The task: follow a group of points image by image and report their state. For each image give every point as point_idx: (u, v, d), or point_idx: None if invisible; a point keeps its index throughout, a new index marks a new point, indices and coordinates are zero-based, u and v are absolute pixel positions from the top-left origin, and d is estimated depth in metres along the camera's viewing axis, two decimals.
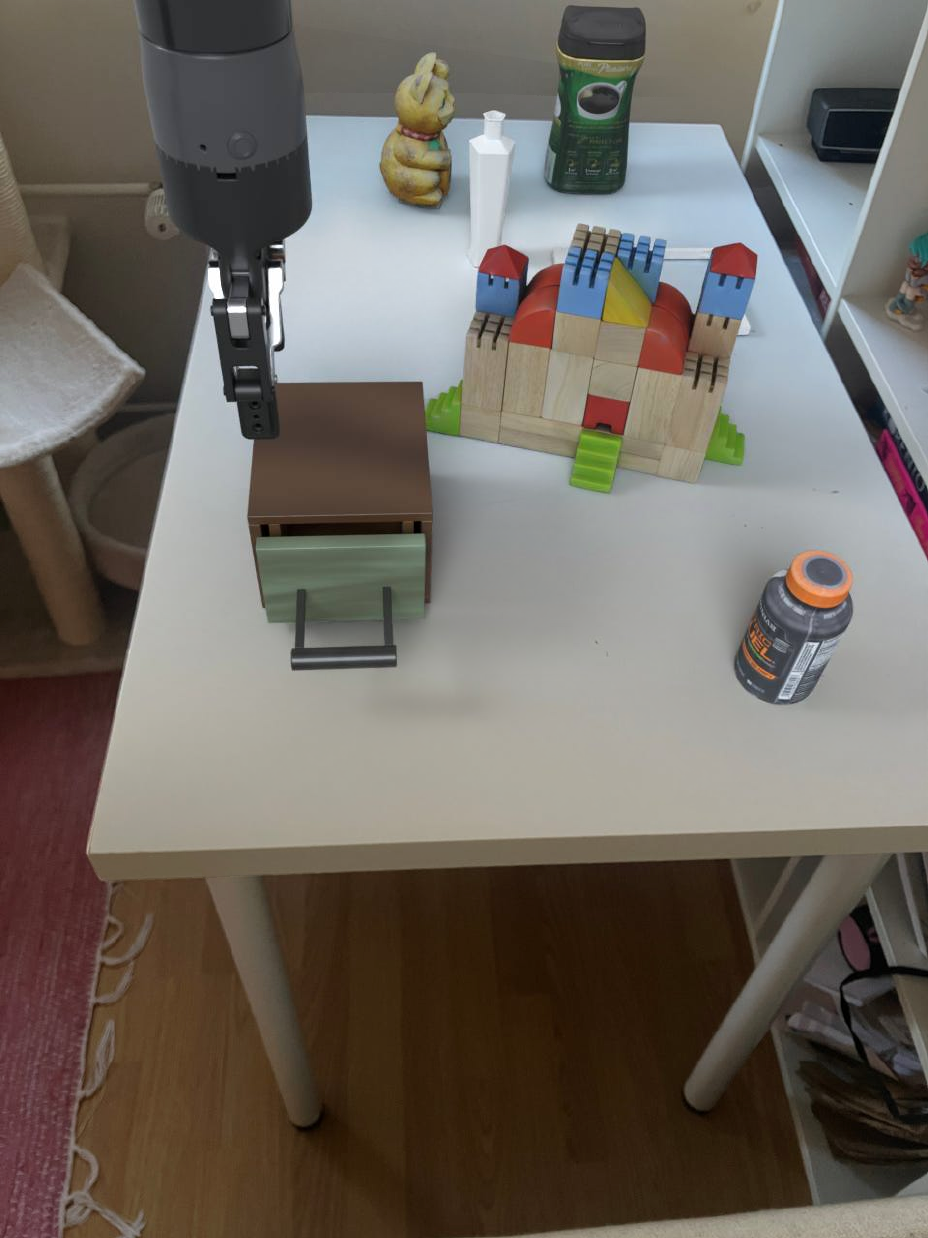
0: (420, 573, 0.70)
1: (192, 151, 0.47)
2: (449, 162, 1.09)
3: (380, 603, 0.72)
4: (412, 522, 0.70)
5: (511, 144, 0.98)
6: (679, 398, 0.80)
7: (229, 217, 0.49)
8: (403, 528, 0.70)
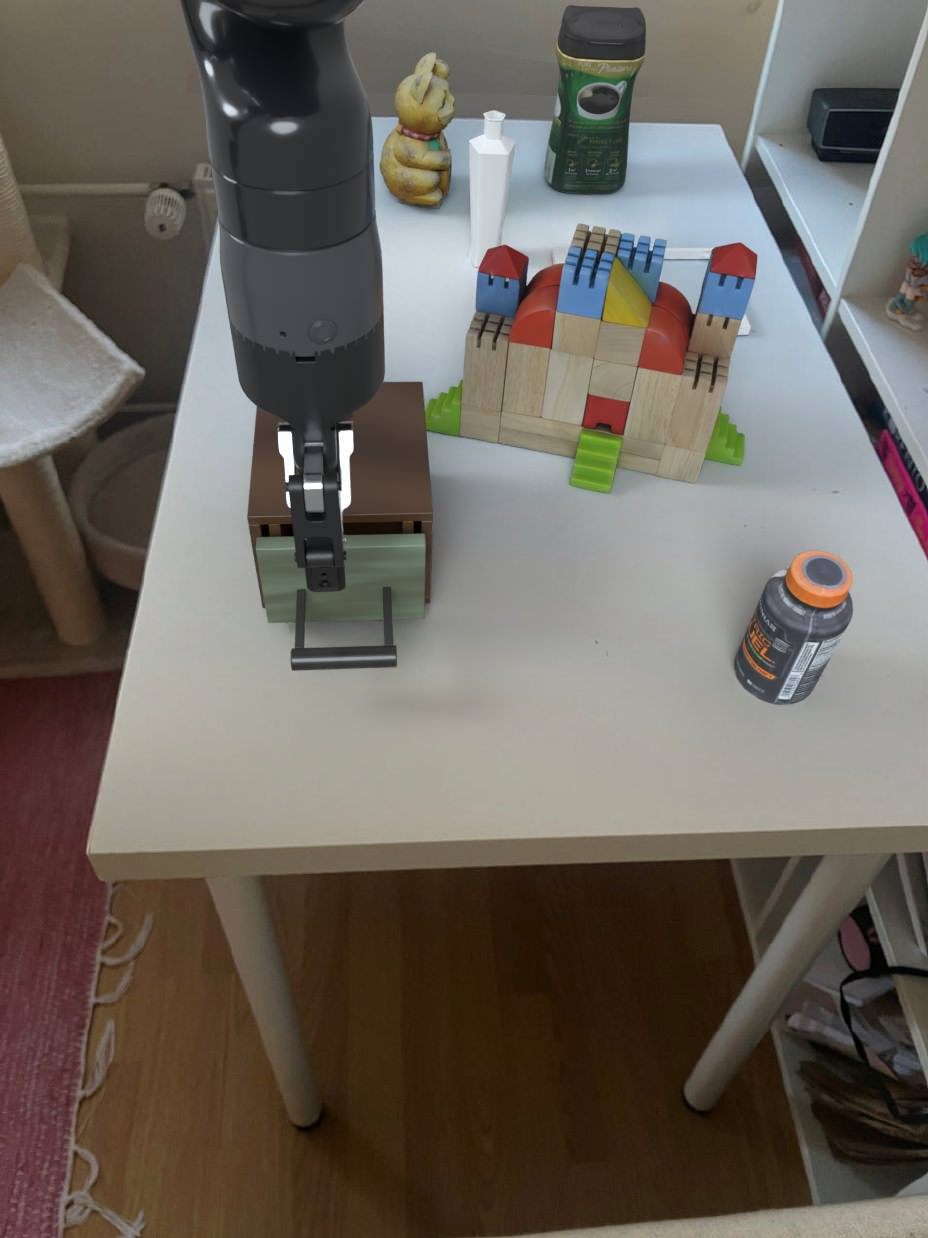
0: (420, 573, 0.70)
1: (271, 337, 0.46)
2: (449, 162, 1.09)
3: (380, 603, 0.72)
4: (412, 522, 0.70)
5: (511, 144, 0.98)
6: (679, 398, 0.80)
7: (306, 395, 0.48)
8: (403, 528, 0.70)
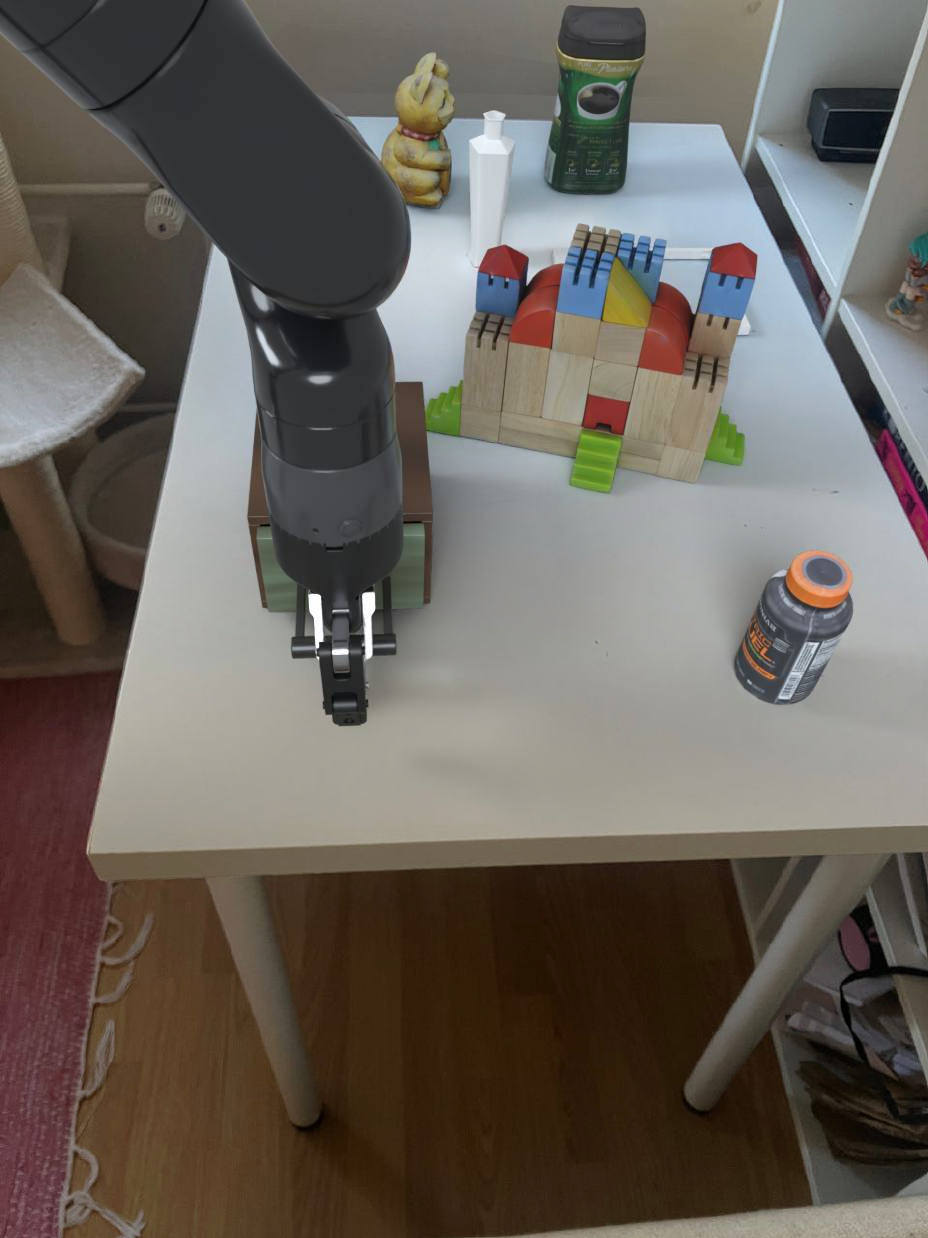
0: (419, 562, 0.71)
1: (305, 532, 0.53)
2: (449, 162, 1.09)
3: (380, 593, 0.73)
4: None
5: (511, 144, 0.98)
6: (679, 398, 0.80)
7: (334, 575, 0.55)
8: None
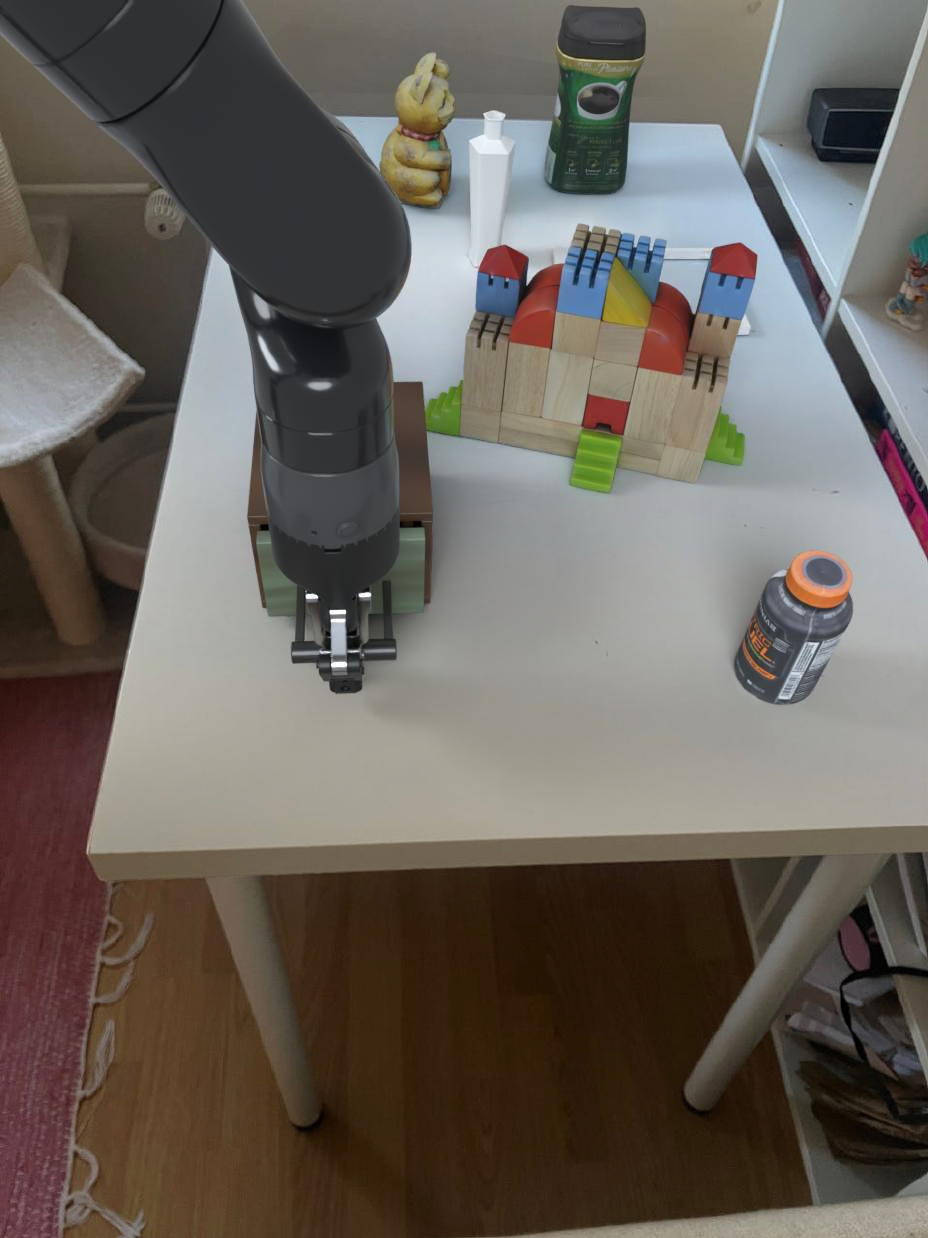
0: (420, 567, 0.71)
1: (304, 534, 0.54)
2: (449, 162, 1.09)
3: (380, 597, 0.73)
4: None
5: (511, 144, 0.98)
6: (679, 398, 0.80)
7: (332, 576, 0.56)
8: (403, 522, 0.71)
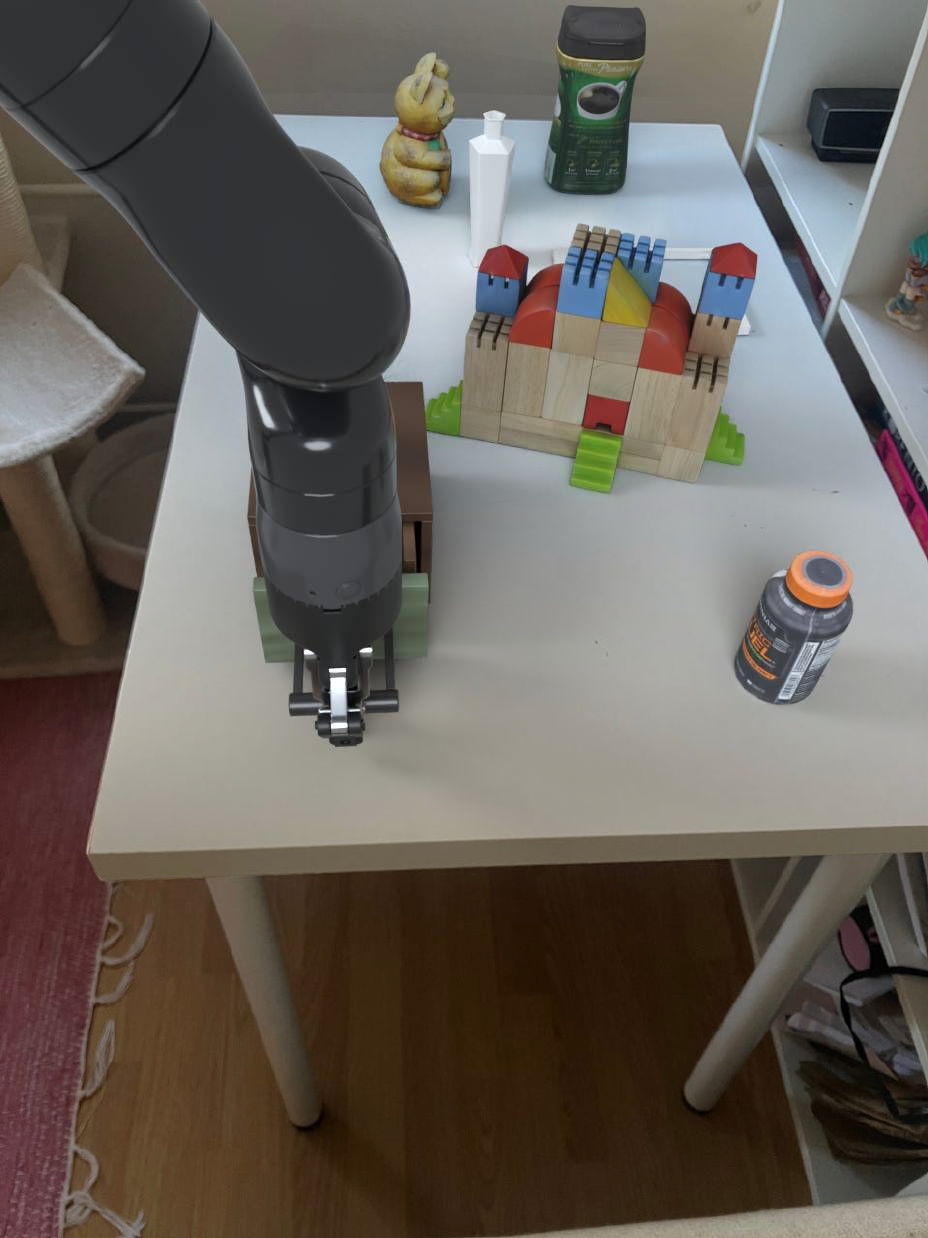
0: (423, 613, 0.68)
1: (302, 594, 0.51)
2: (449, 162, 1.09)
3: (381, 643, 0.70)
4: (414, 561, 0.67)
5: (511, 144, 0.98)
6: (679, 398, 0.80)
7: (331, 636, 0.53)
8: (405, 567, 0.68)
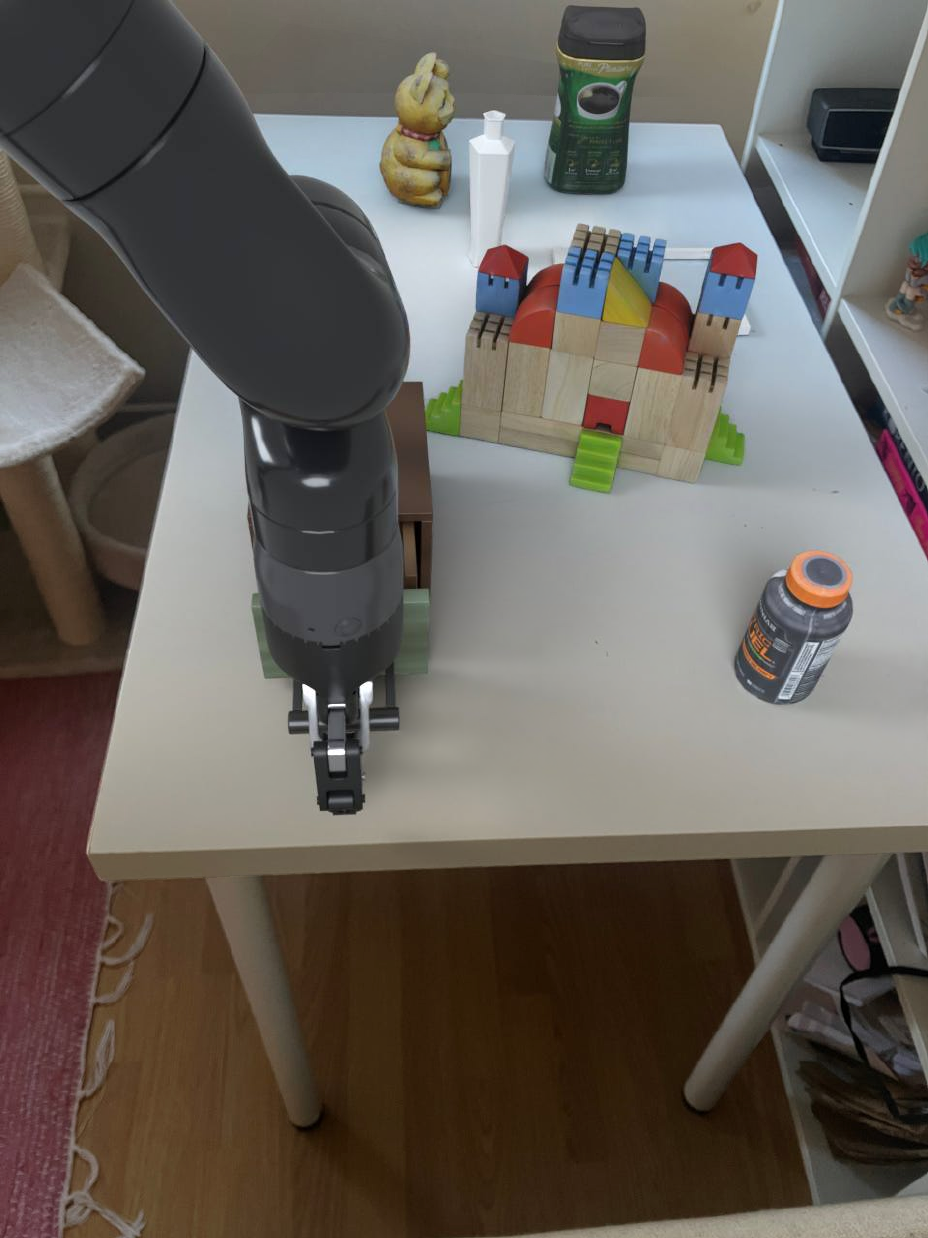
0: (424, 629, 0.67)
1: (300, 630, 0.50)
2: (449, 162, 1.09)
3: None
4: (415, 576, 0.67)
5: (511, 144, 0.98)
6: (679, 398, 0.80)
7: (330, 672, 0.52)
8: (406, 582, 0.67)
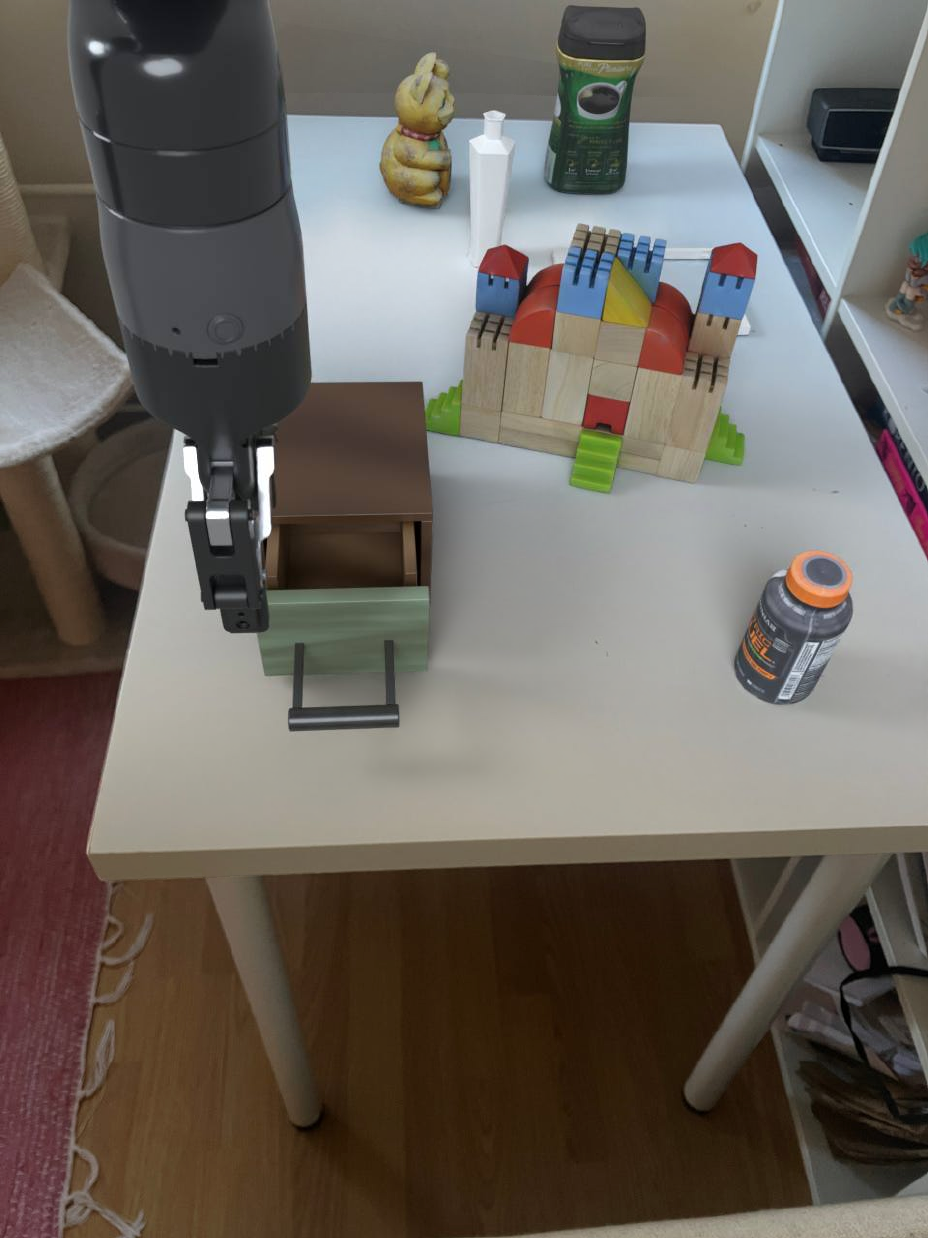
0: (423, 626, 0.67)
1: (162, 334, 0.37)
2: (449, 162, 1.09)
3: (382, 656, 0.69)
4: (415, 573, 0.67)
5: (511, 144, 0.98)
6: (679, 398, 0.80)
7: (209, 406, 0.40)
8: (406, 579, 0.67)
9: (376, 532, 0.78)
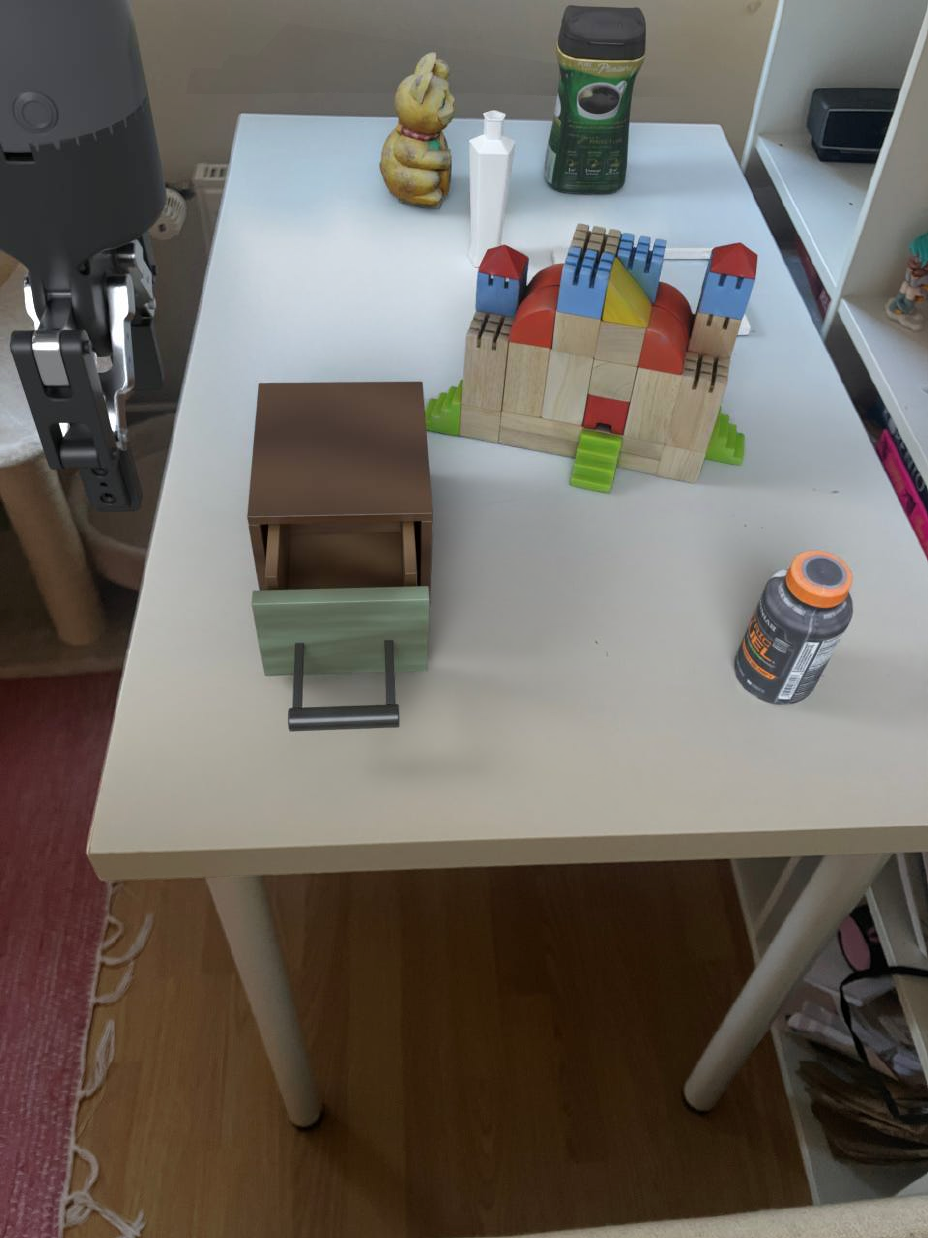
0: (423, 626, 0.67)
1: None
2: (449, 162, 1.09)
3: (382, 656, 0.69)
4: (415, 573, 0.67)
5: (511, 144, 0.98)
6: (679, 398, 0.80)
7: (32, 216, 0.35)
8: (406, 579, 0.67)
9: (376, 532, 0.78)
